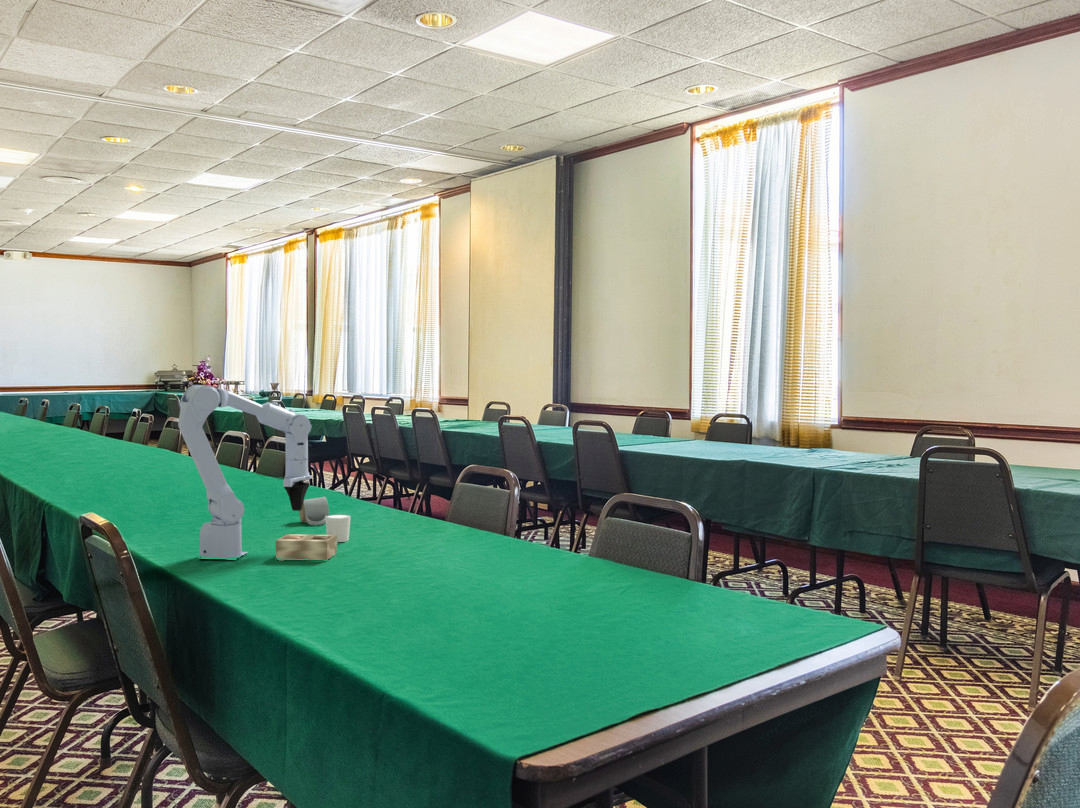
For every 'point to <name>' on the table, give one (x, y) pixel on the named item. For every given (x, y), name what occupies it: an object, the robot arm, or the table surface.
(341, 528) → the white cup
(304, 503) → the ceramic mug
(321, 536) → the walnut peg
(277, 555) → the maple block
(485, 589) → the table surface
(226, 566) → the table surface
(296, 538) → the terracotta peg
